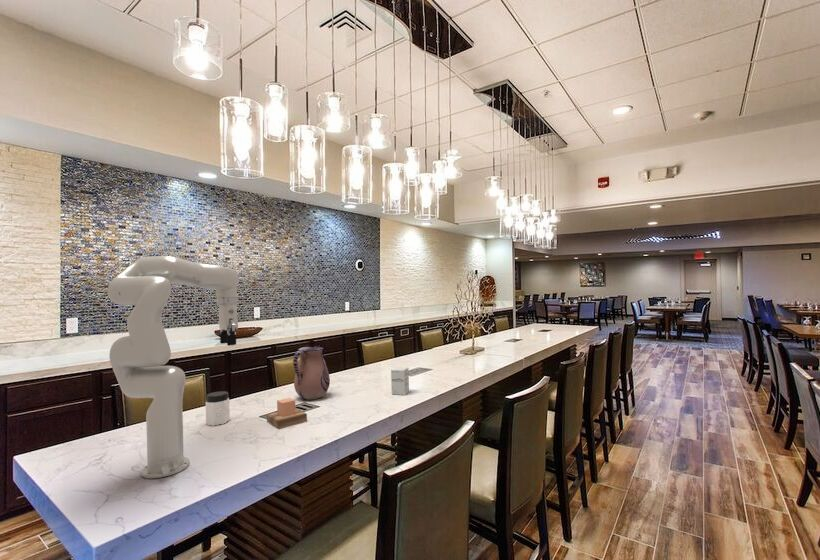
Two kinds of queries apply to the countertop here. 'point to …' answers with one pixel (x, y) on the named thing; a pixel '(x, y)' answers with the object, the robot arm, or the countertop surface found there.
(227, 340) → the robot arm
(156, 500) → the countertop surface
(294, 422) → the block
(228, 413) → the jar
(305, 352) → the ceramic pitcher
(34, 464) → the countertop surface
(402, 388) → the supplement box
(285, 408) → the cube
